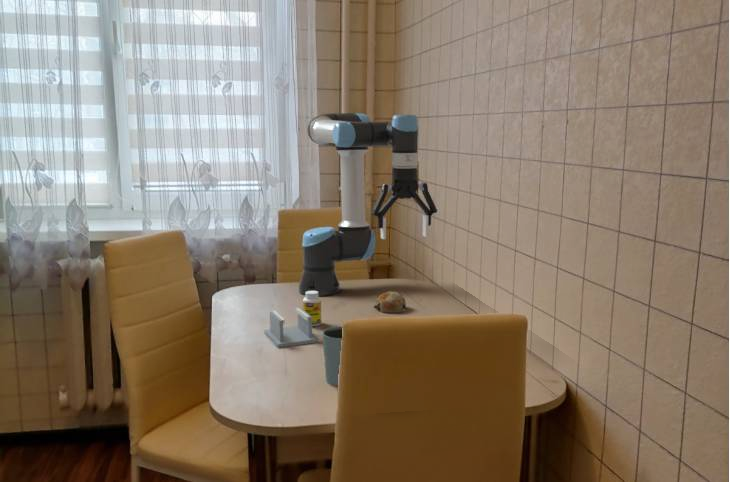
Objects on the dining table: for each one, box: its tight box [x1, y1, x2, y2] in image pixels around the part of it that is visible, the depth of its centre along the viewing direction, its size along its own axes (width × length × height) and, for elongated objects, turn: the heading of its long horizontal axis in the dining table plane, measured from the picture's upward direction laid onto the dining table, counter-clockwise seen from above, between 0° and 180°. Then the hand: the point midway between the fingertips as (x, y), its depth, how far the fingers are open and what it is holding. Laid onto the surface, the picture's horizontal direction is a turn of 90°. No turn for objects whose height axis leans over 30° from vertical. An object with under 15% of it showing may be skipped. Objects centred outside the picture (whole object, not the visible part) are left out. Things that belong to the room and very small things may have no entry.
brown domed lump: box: [373, 291, 407, 314], centre depth 220 cm, size 10×10×8 cm
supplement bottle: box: [302, 291, 322, 327], centre depth 203 cm, size 6×6×10 cm
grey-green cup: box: [321, 325, 342, 387], centre depth 159 cm, size 10×10×12 cm
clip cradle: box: [263, 307, 320, 349], centre depth 191 cm, size 14×12×7 cm
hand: (404, 237), depth 201 cm, fingers open, 13 cm apart
